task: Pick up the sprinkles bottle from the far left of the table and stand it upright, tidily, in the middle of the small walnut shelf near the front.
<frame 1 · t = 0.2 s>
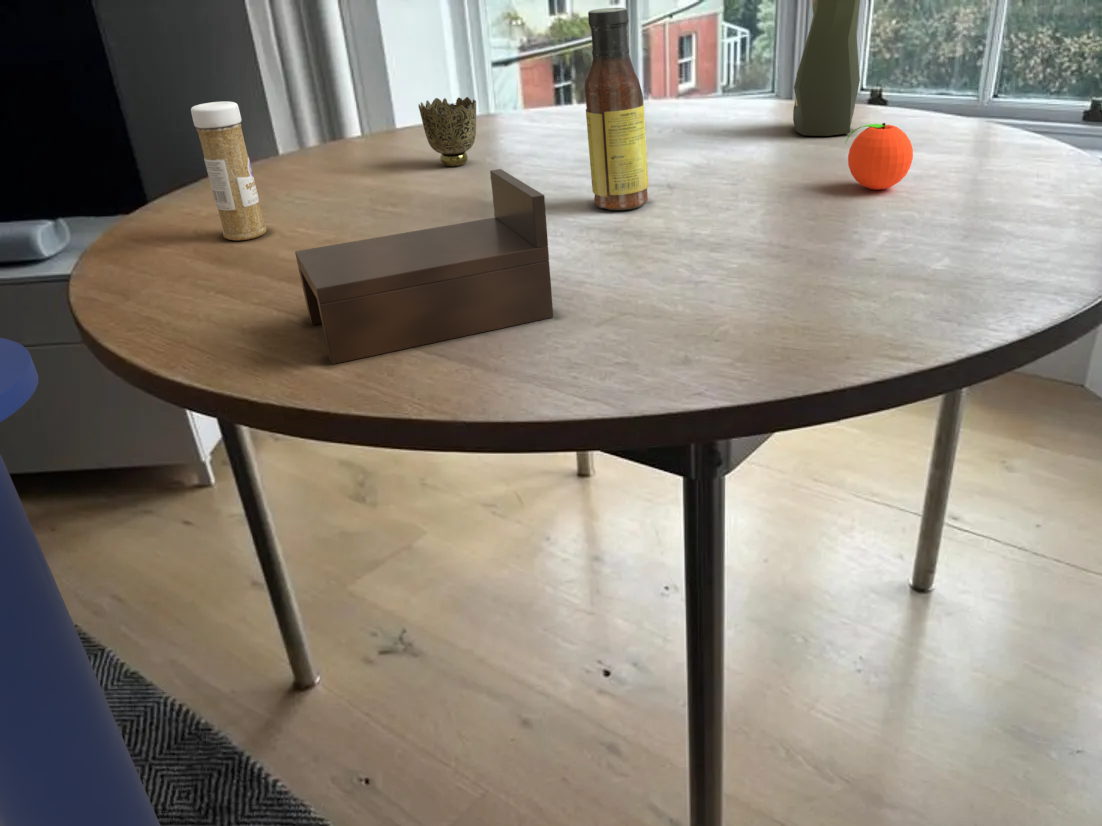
shelf: (430, 319, 77), on the table
cup: (455, 165, 124), on the table
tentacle: (822, 133, 131), on the table
clementine: (872, 189, 105), on the table
sauce bottle: (619, 206, 104), on the table
sprinkles bottle: (245, 237, 100), on the table
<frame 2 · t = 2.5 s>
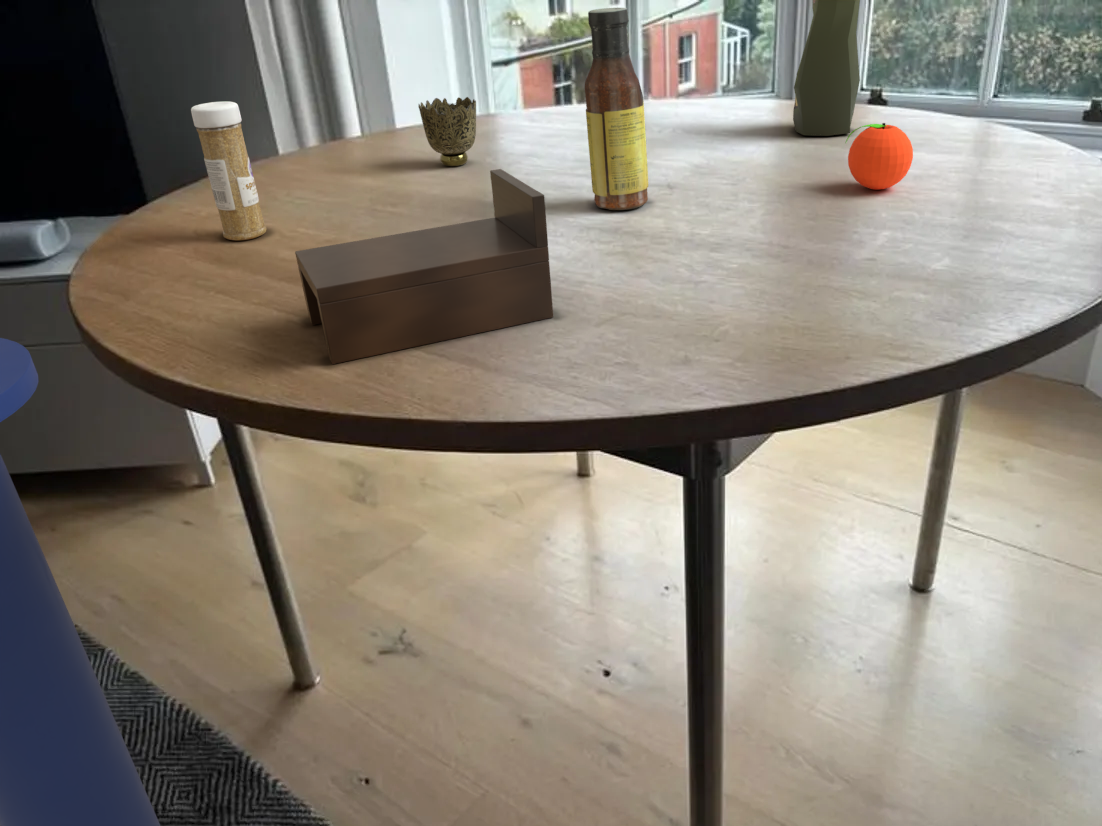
nothing on the table moved.
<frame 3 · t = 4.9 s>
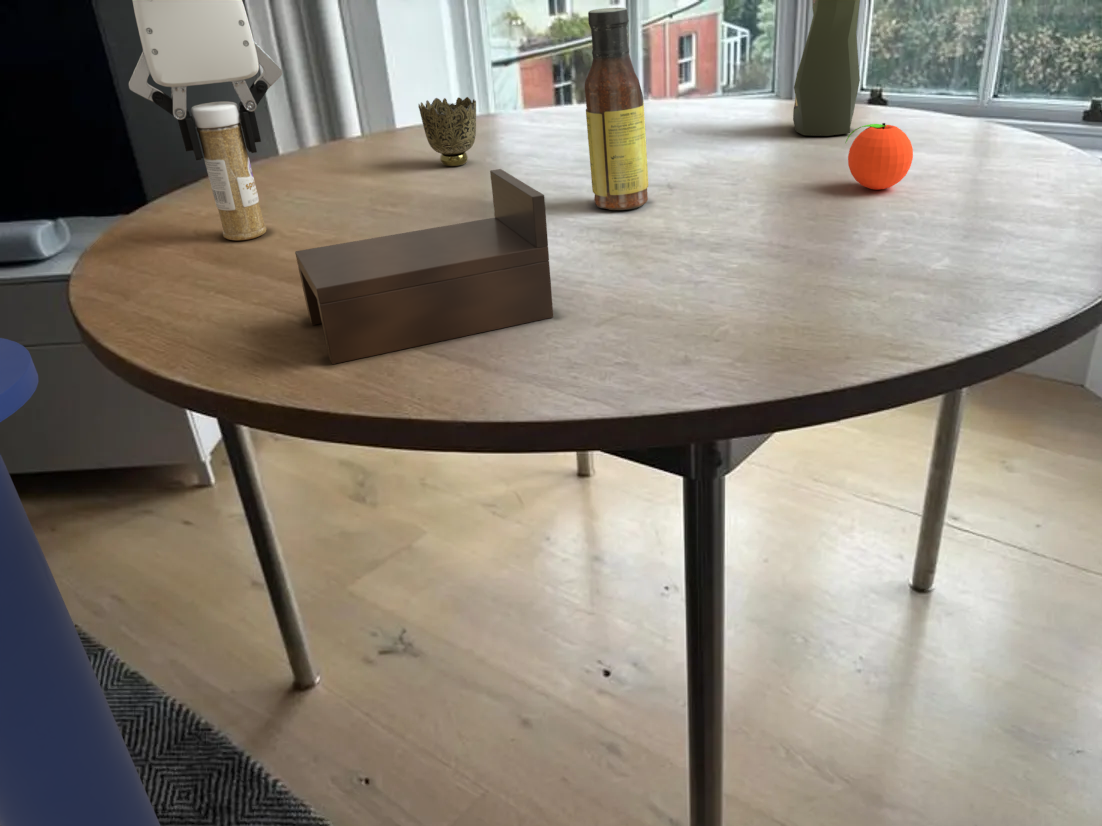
hand: (225, 152, 96), 9 cm above the table, tool pointing down, fingers closed on sprinkles bottle, 4 cm apart
sprinkles bottle: (245, 237, 100), on the table, touching gripper
everything else where it was.
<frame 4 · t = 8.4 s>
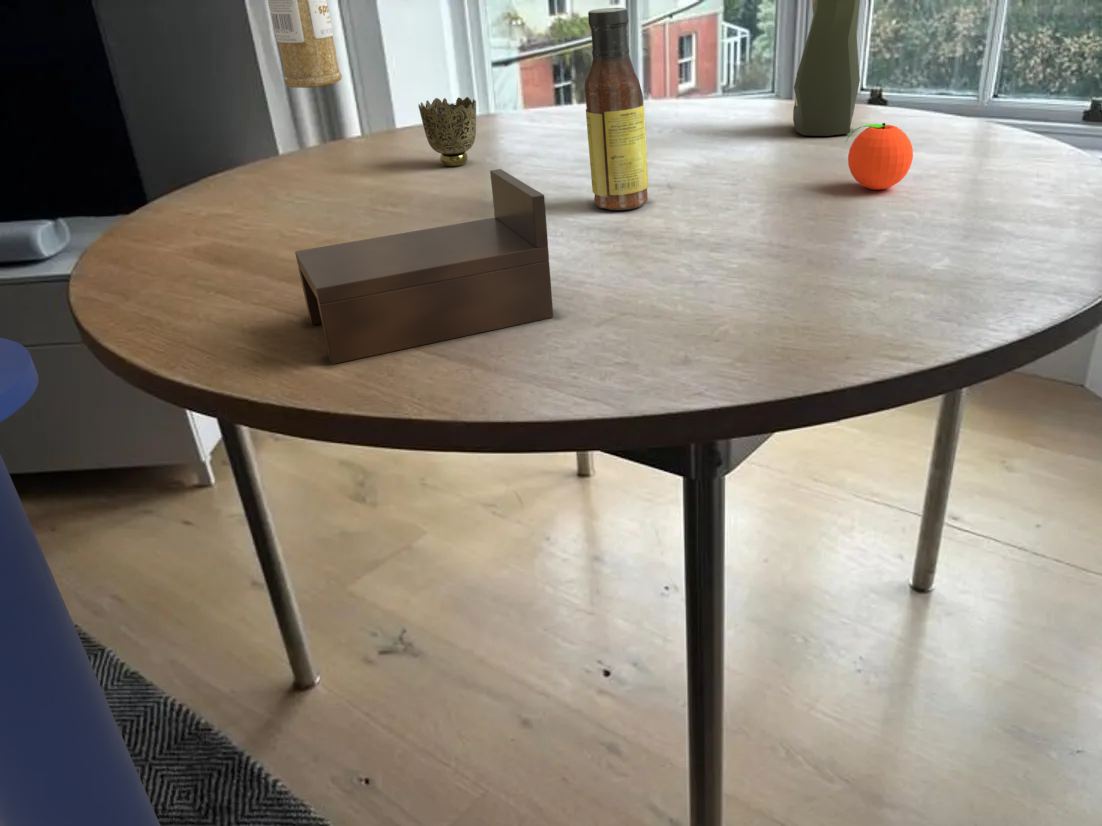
sprinkles bottle: (314, 86, 75), point 17 cm above the table, touching gripper
everything else where it was.
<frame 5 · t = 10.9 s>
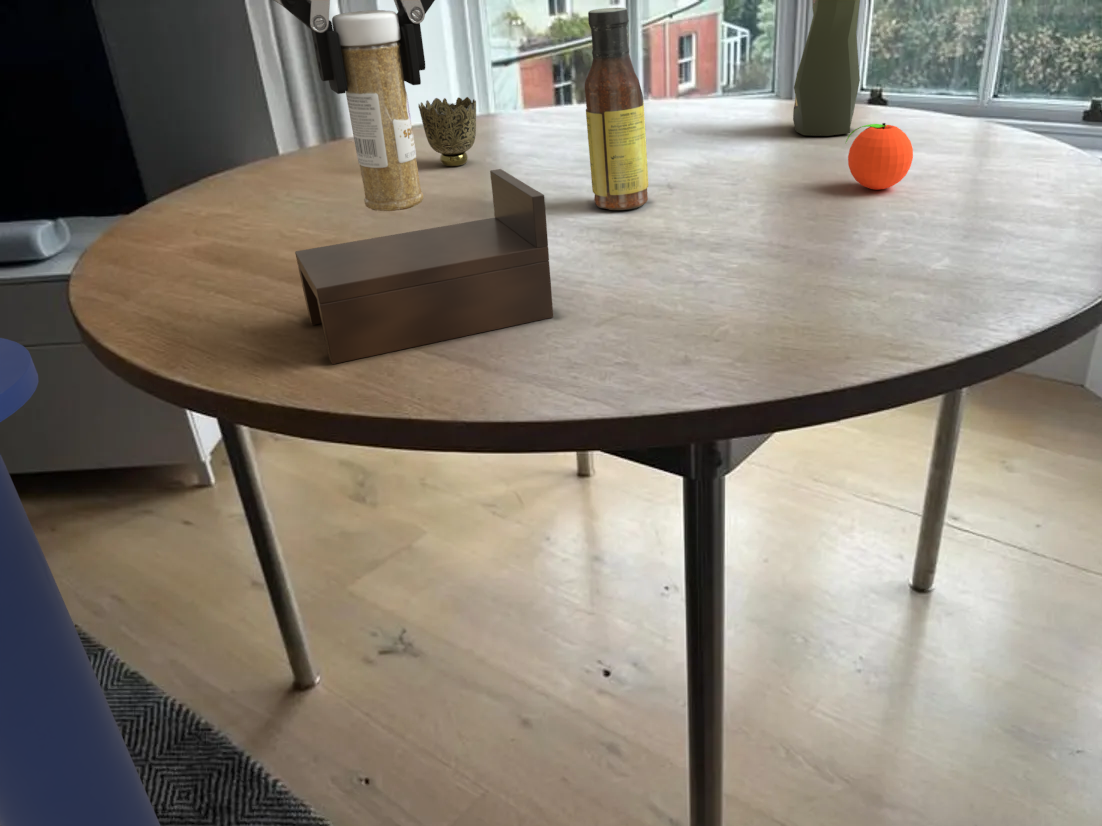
hand: (375, 84, 67), 18 cm above the table, tool pointing down, fingers closed on sprinkles bottle, 4 cm apart
sprinkles bottle: (394, 207, 71), point 10 cm above the table, touching gripper
everything else where it was.
when the fingers open (15 cm above the table, at t = 12.2 s): sprinkles bottle stays where it is, resting on shelf.
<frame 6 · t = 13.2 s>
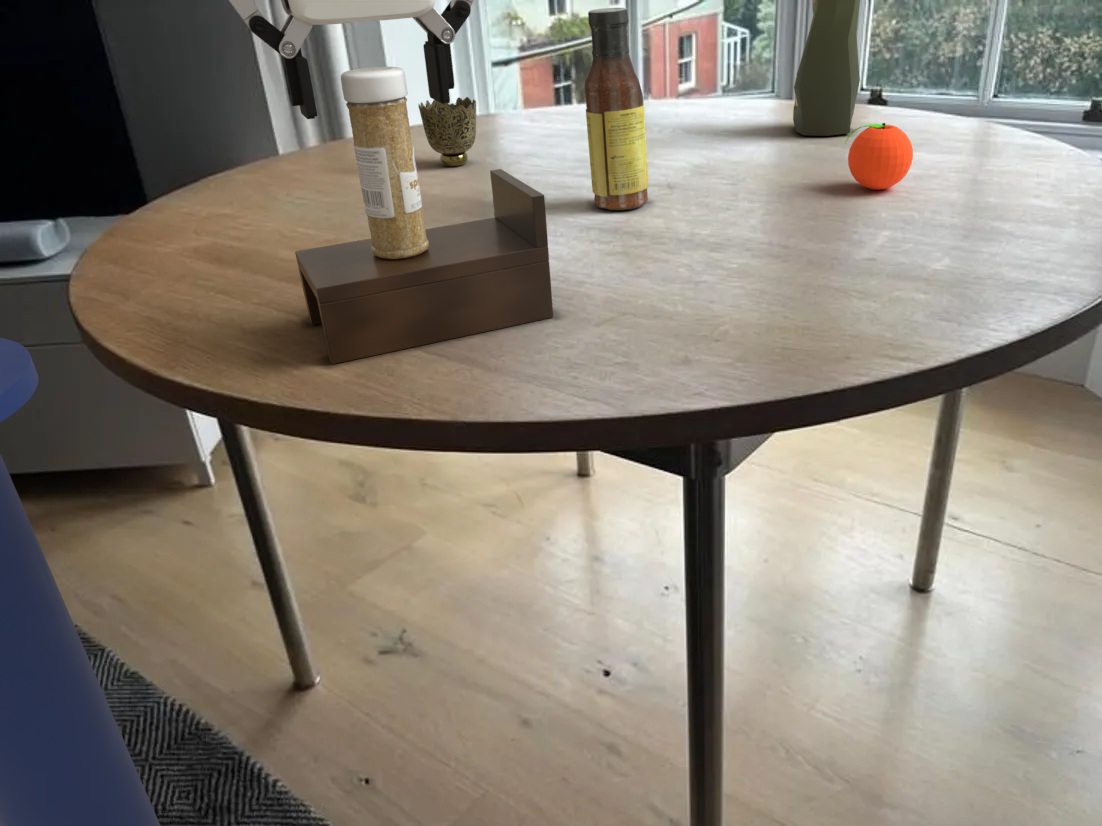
hand: (376, 108, 68), 17 cm above the table, tool pointing down, fingers open, 9 cm apart
sprinkles bottle: (400, 254, 73), point 6 cm above the table, touching shelf
everything else where it was.
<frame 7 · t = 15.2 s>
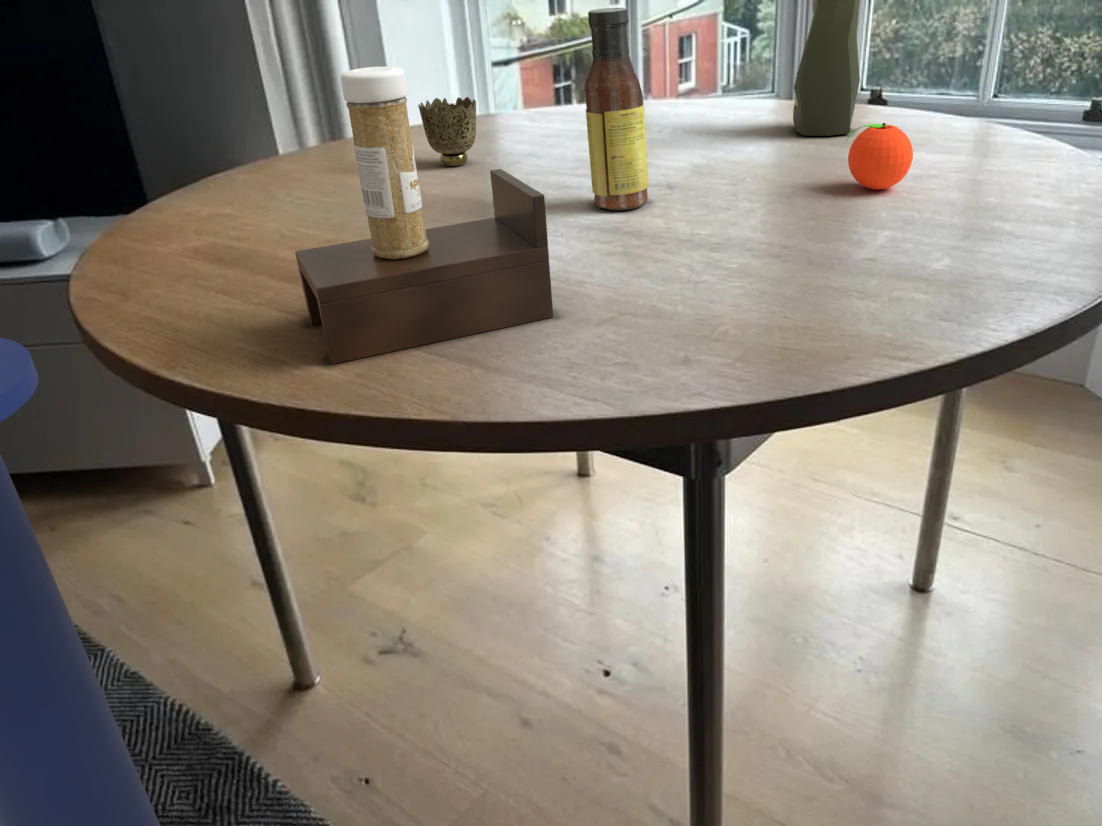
nothing on the table moved.
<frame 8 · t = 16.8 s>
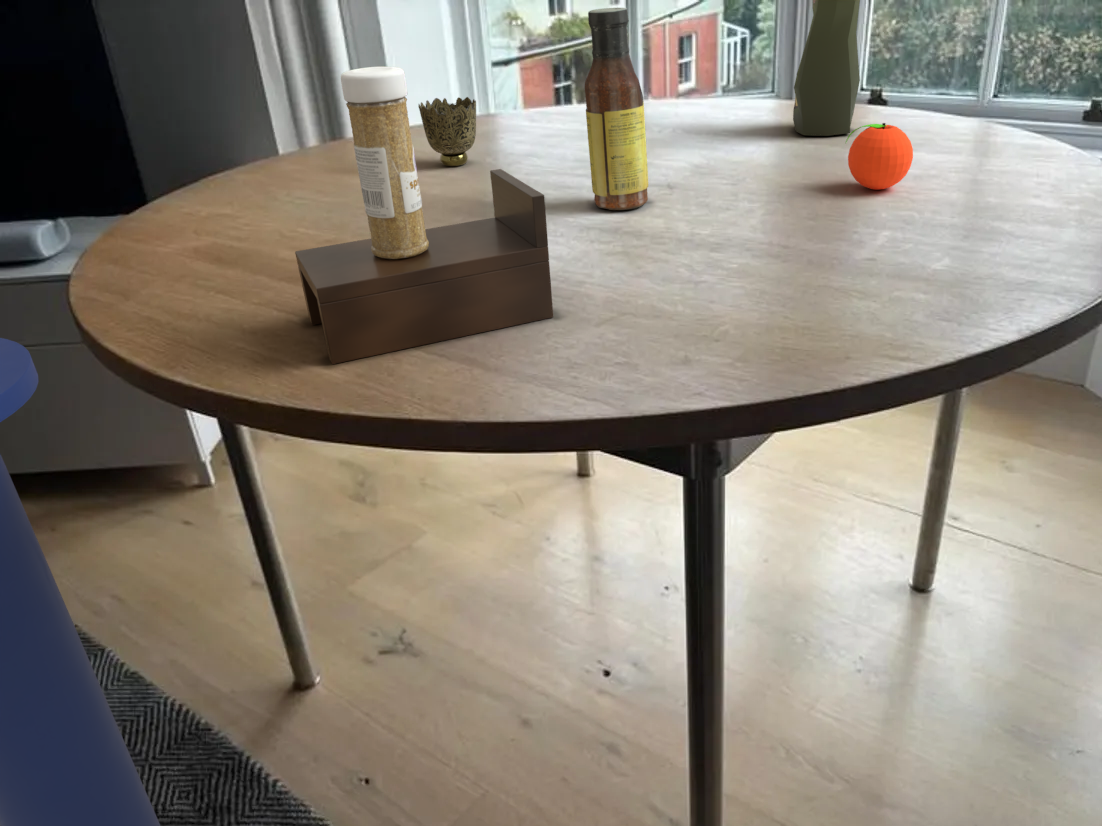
nothing on the table moved.
at the end: sprinkles bottle inside the target area on the shelf (0.6 cm from its centre), point 5.8 cm above the shelf's base; sprinkles bottle tilted 0°; the gripper is holding nothing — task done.
